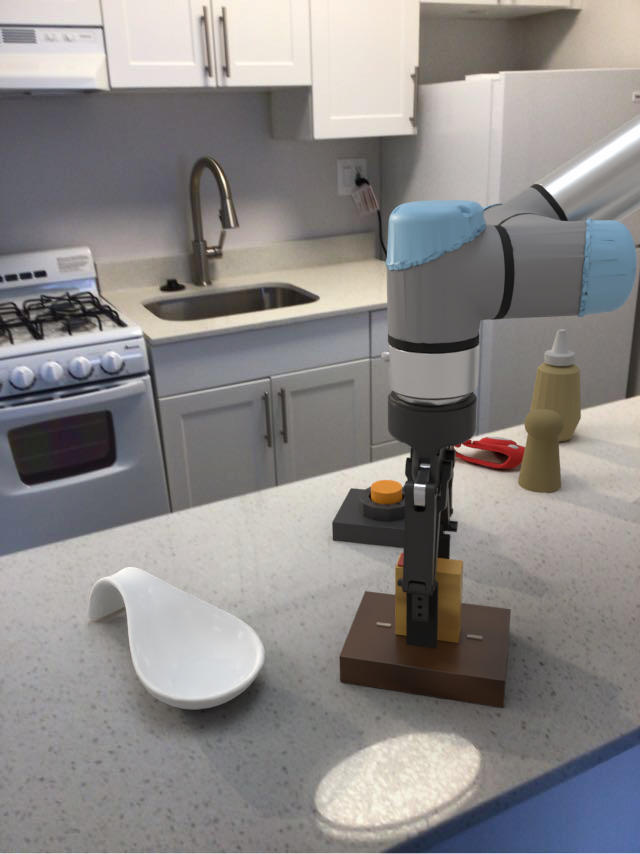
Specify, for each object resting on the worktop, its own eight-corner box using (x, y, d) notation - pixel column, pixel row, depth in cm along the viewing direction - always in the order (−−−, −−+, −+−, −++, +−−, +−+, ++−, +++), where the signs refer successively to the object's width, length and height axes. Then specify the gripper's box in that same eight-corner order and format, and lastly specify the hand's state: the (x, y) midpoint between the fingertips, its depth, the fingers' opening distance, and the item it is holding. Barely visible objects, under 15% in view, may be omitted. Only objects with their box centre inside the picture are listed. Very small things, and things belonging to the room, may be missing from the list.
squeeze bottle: (531, 425, 130) (538, 322, 124) (580, 430, 127) (590, 325, 121) (525, 442, 123) (532, 335, 117) (577, 447, 120) (587, 337, 114)
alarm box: (437, 513, 102) (438, 483, 100) (427, 551, 93) (427, 518, 91) (351, 505, 105) (350, 476, 103) (332, 540, 96) (331, 509, 94)
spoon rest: (291, 682, 71) (287, 618, 69) (190, 753, 64) (182, 684, 61) (150, 590, 87) (142, 535, 84) (55, 637, 79) (43, 579, 77)
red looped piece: (506, 436, 123) (543, 443, 114) (502, 463, 123) (539, 472, 114) (440, 430, 119) (473, 437, 110) (437, 458, 119) (469, 467, 110)
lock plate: (509, 633, 77) (511, 607, 76) (503, 708, 67) (505, 679, 66) (365, 614, 81) (365, 589, 80) (340, 682, 71) (338, 654, 70)
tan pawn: (509, 484, 109) (513, 412, 105) (533, 471, 113) (538, 401, 109) (545, 497, 105) (551, 423, 101) (569, 483, 109) (576, 411, 105)
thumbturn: (461, 627, 73) (463, 558, 71) (458, 643, 71) (460, 572, 68) (399, 619, 75) (399, 551, 72) (395, 634, 73) (395, 564, 70)
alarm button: (404, 493, 99) (404, 481, 98) (399, 507, 95) (399, 494, 94) (374, 490, 100) (374, 478, 99) (368, 504, 96) (367, 491, 95)
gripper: (408, 355, 74) (407, 556, 83) (361, 432, 56) (366, 681, 64) (486, 358, 72) (477, 564, 81) (464, 439, 54) (456, 695, 62)
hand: (428, 616), depth 72 cm, fingers open, 8 cm apart
